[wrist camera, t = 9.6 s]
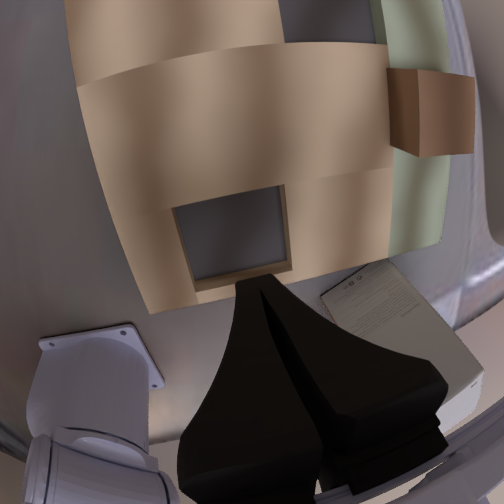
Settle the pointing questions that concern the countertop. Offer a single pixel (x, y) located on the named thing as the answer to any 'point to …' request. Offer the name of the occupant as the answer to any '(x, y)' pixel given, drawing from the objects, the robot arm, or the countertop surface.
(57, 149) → the countertop surface
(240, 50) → the board
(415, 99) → the block
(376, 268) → the small box
